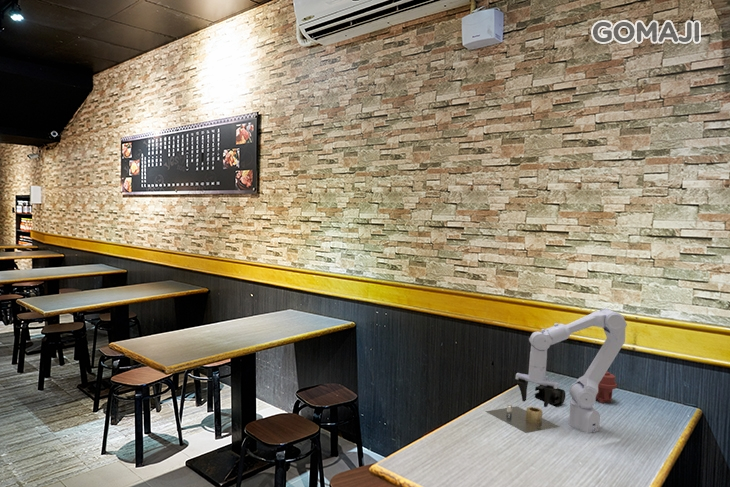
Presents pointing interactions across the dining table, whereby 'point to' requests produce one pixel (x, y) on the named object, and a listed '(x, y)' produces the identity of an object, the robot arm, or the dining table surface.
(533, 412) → the bronze hub
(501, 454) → the dining table surface
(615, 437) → the dining table surface
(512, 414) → the shaft stand
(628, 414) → the dining table surface
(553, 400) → the end cap
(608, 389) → the mechanical component
